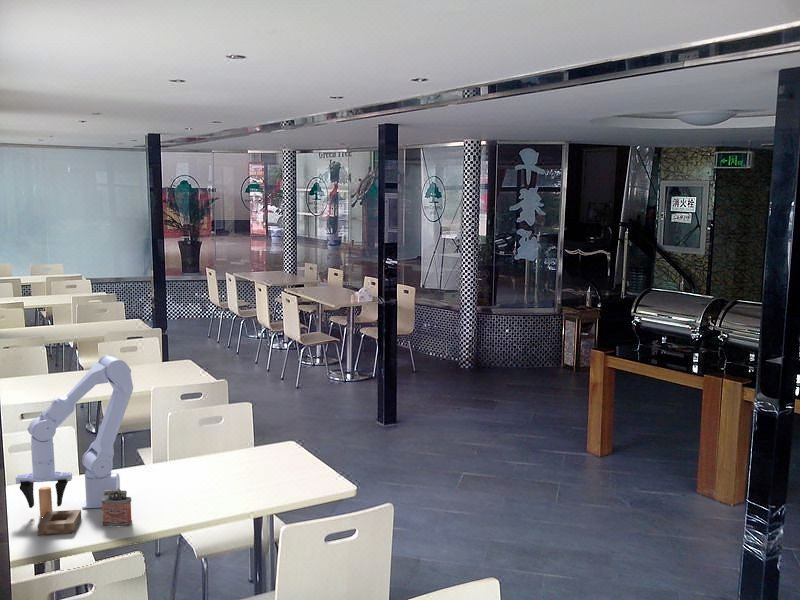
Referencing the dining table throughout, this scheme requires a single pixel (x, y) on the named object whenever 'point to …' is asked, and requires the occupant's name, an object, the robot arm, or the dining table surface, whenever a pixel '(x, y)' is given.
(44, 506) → the pin
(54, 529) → the hole block
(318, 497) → the dining table surface
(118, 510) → the lighter
